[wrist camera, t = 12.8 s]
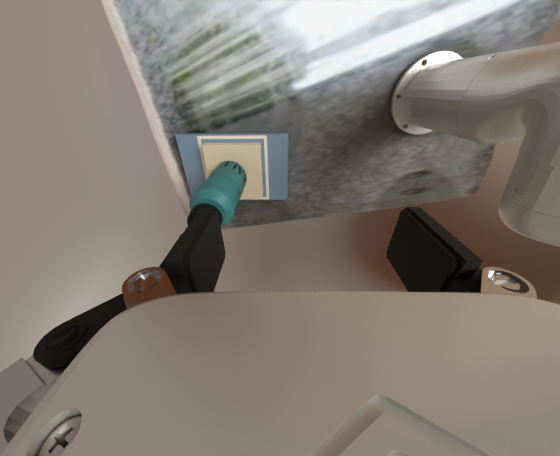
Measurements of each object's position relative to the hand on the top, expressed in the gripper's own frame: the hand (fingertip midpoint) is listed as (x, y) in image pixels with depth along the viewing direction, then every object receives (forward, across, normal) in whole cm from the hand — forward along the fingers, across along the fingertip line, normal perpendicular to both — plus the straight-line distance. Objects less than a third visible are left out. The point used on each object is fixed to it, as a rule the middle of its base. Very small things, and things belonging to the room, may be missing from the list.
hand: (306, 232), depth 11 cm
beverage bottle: (+33, +11, +8) cm, 36 cm away
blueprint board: (+36, +11, +8) cm, 39 cm away
